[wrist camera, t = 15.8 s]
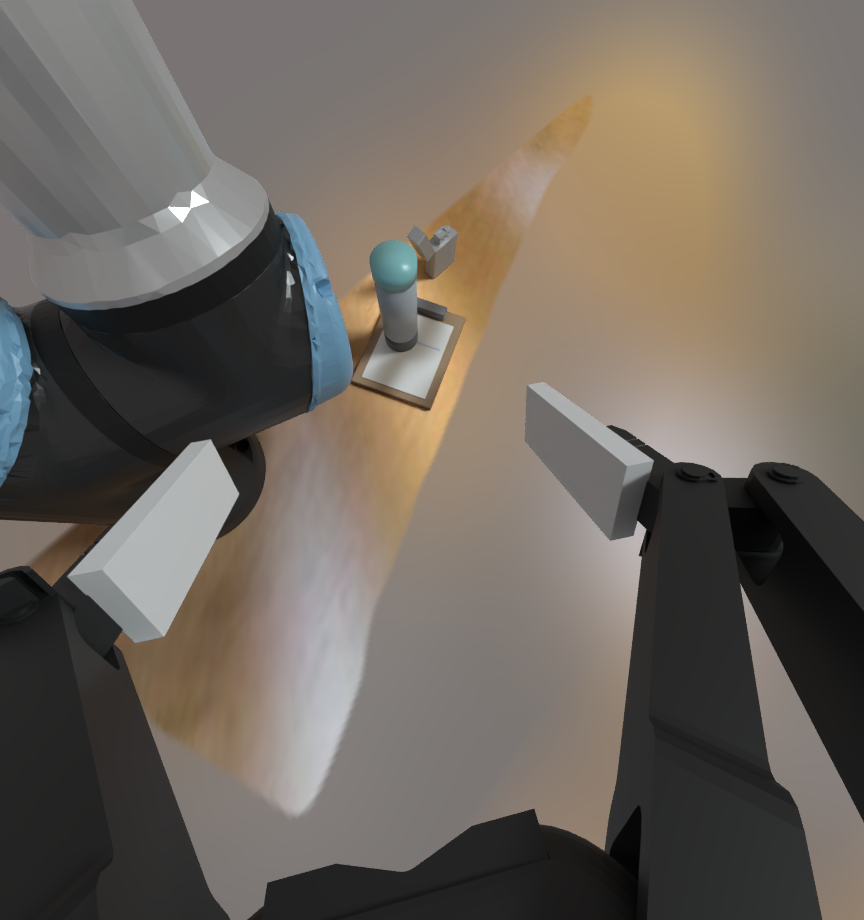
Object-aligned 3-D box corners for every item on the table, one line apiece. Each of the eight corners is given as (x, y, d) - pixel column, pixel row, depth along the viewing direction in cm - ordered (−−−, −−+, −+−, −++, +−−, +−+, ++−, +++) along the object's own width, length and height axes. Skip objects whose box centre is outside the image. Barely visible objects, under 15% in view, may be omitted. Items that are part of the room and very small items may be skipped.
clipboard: (352, 382, 41) (349, 376, 39) (392, 296, 44) (391, 287, 43) (430, 410, 41) (430, 404, 39) (465, 320, 44) (466, 312, 42)
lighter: (445, 253, 46) (450, 194, 38) (454, 260, 46) (462, 203, 38) (408, 285, 45) (406, 231, 37) (418, 293, 44) (417, 240, 37)
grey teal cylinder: (379, 346, 42) (362, 271, 30) (391, 317, 42) (380, 234, 31) (411, 357, 41) (407, 286, 30) (423, 328, 42) (423, 248, 31)
